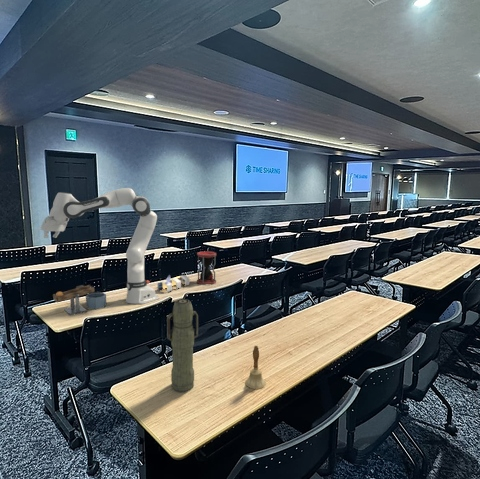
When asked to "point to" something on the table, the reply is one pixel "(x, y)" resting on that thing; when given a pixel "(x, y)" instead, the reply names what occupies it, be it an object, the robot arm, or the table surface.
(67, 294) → the lever
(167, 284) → the diorama
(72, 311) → the lever stand
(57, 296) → the ball
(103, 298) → the blue-grey box
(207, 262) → the hourglass
